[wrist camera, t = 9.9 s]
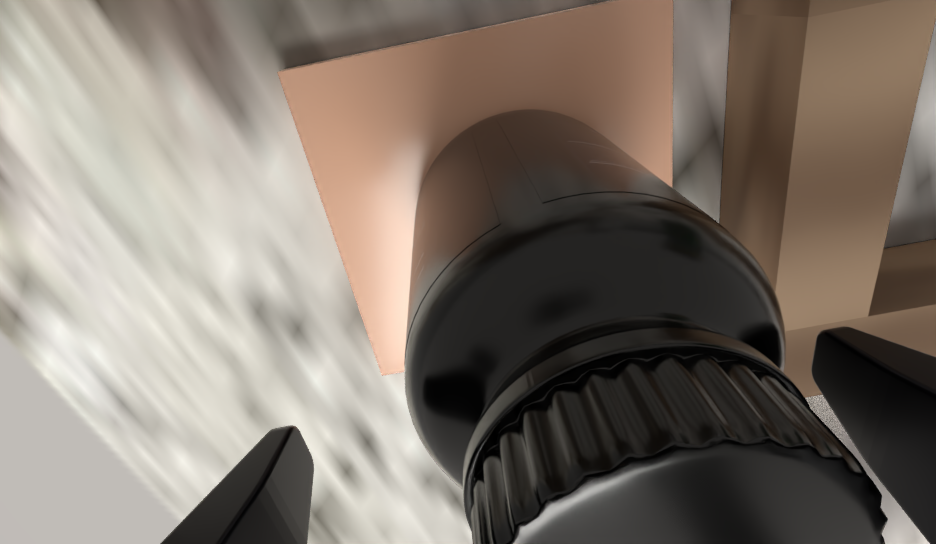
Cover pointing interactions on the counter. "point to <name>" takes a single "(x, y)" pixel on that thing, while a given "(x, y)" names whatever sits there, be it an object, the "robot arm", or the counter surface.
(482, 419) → the supplement bottle
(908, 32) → the walnut caddy
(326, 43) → the counter surface
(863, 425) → the robot arm
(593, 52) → the terracotta coaster
